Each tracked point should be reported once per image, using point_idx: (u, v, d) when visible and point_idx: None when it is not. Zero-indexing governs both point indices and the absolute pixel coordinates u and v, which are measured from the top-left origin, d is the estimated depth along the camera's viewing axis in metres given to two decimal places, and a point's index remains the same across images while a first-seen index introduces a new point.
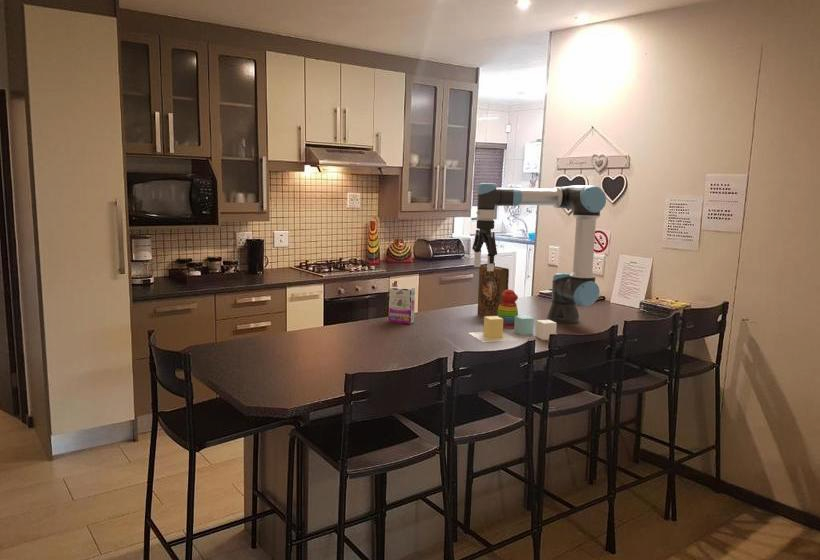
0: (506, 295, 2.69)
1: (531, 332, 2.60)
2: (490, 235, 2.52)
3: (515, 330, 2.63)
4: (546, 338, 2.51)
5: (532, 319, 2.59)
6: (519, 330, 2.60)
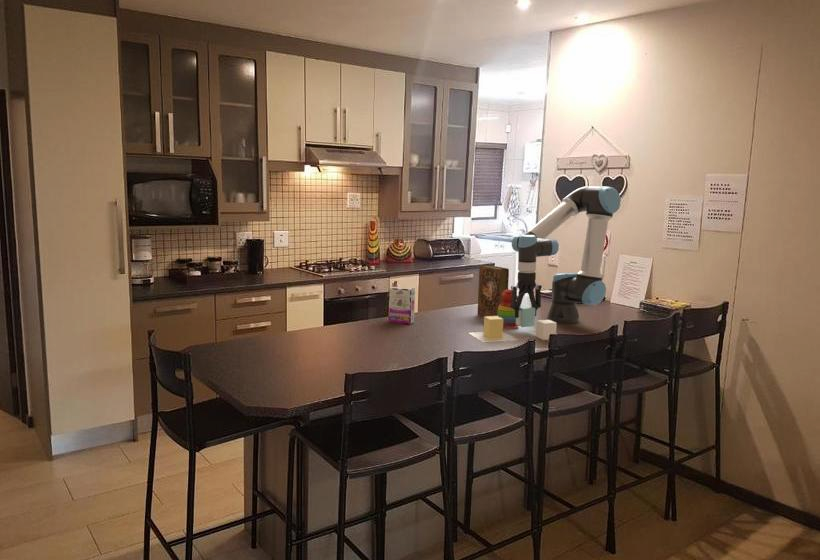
0: (506, 295, 2.69)
1: (533, 322, 2.60)
2: (512, 289, 2.58)
3: None
4: (546, 338, 2.51)
5: (533, 309, 2.59)
6: (521, 320, 2.59)
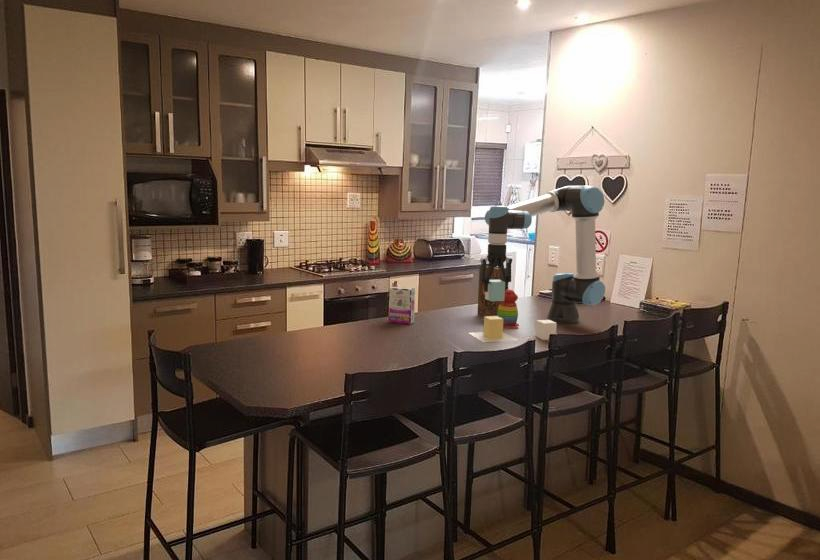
0: (506, 295, 2.69)
1: (502, 296, 2.50)
2: (481, 262, 2.49)
3: None
4: (546, 338, 2.51)
5: (503, 283, 2.49)
6: (490, 294, 2.49)
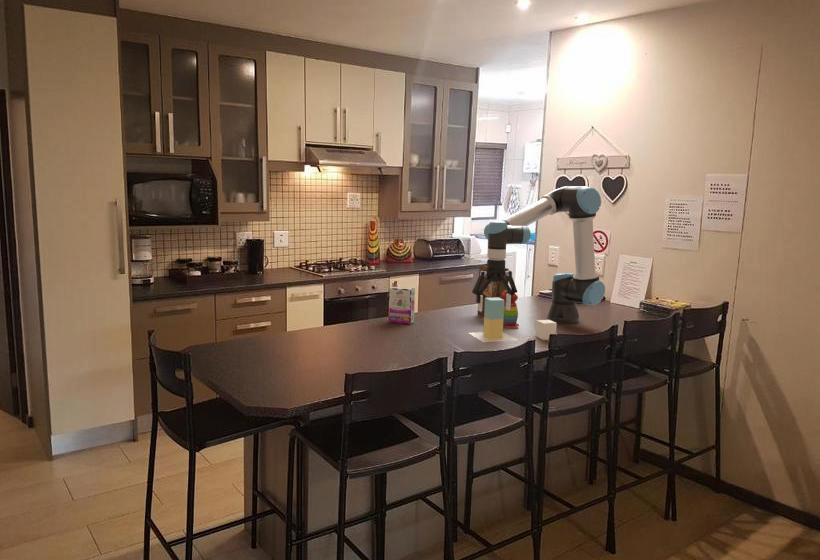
0: None
1: (501, 314, 2.51)
2: (479, 274, 2.49)
3: (485, 313, 2.54)
4: (546, 338, 2.51)
5: (502, 301, 2.50)
6: (489, 312, 2.50)
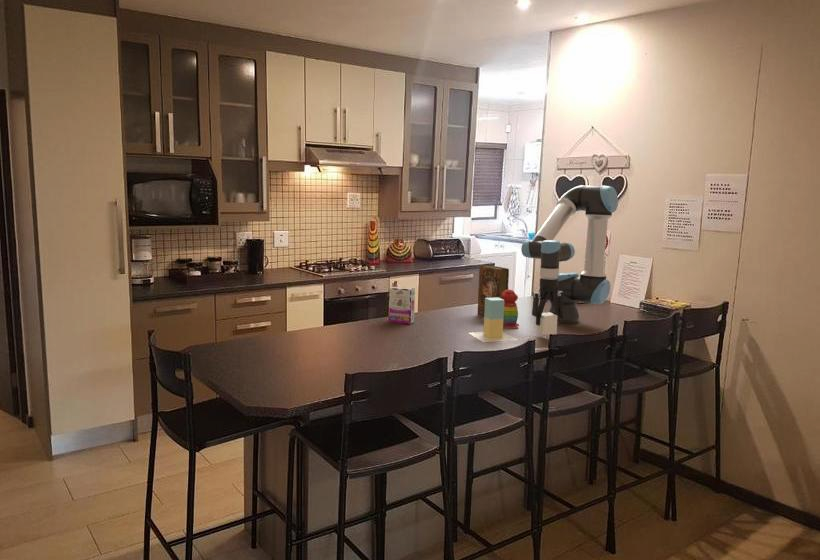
0: (506, 295, 2.69)
1: (501, 314, 2.51)
2: (533, 296, 2.51)
3: (485, 313, 2.54)
4: (547, 331, 2.51)
5: (502, 301, 2.50)
6: (489, 312, 2.50)
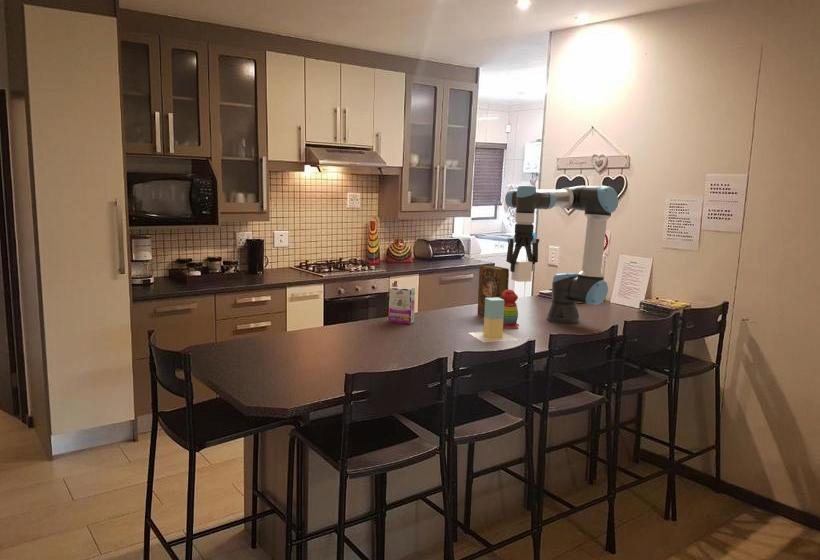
0: (506, 295, 2.69)
1: (501, 314, 2.51)
2: (508, 242, 2.47)
3: (485, 313, 2.54)
4: (522, 277, 2.47)
5: (502, 301, 2.50)
6: (489, 312, 2.50)
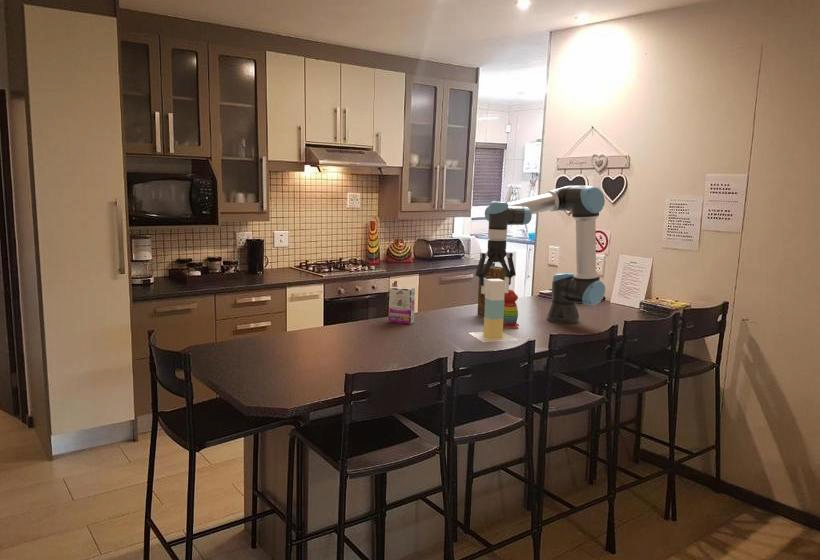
0: (506, 295, 2.69)
1: (501, 314, 2.51)
2: (480, 256, 2.48)
3: (485, 313, 2.54)
4: (494, 296, 2.49)
5: (502, 301, 2.50)
6: (489, 312, 2.50)
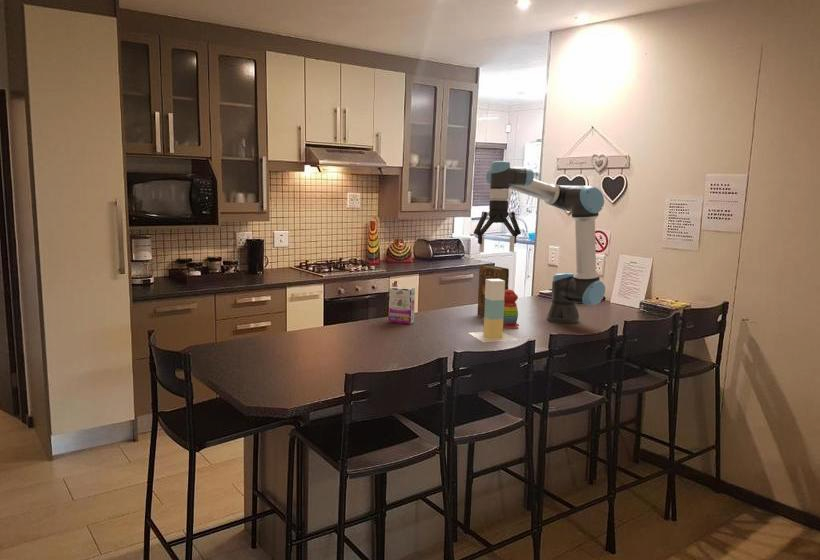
0: (506, 295, 2.69)
1: (501, 314, 2.51)
2: (482, 214, 2.45)
3: (485, 313, 2.54)
4: (494, 296, 2.49)
5: (502, 301, 2.50)
6: (489, 312, 2.50)
